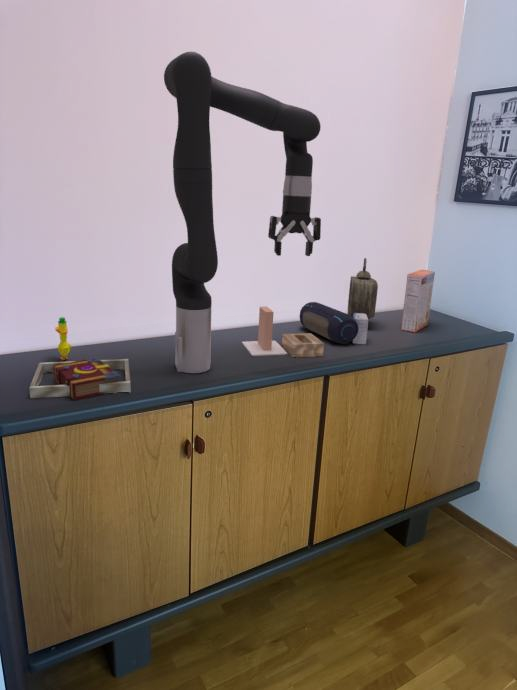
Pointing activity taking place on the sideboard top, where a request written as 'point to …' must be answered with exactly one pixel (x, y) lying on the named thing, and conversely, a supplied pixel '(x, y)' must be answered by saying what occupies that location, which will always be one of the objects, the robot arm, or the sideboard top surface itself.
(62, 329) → the toy figure
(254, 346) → the mat
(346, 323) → the portable speaker
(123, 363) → the display tray
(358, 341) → the medicine box
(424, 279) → the cracker box
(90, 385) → the decorative book
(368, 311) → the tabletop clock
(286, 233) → the robot arm
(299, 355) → the plate holder
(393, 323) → the sideboard top surface
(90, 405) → the sideboard top surface
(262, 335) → the cover plate
